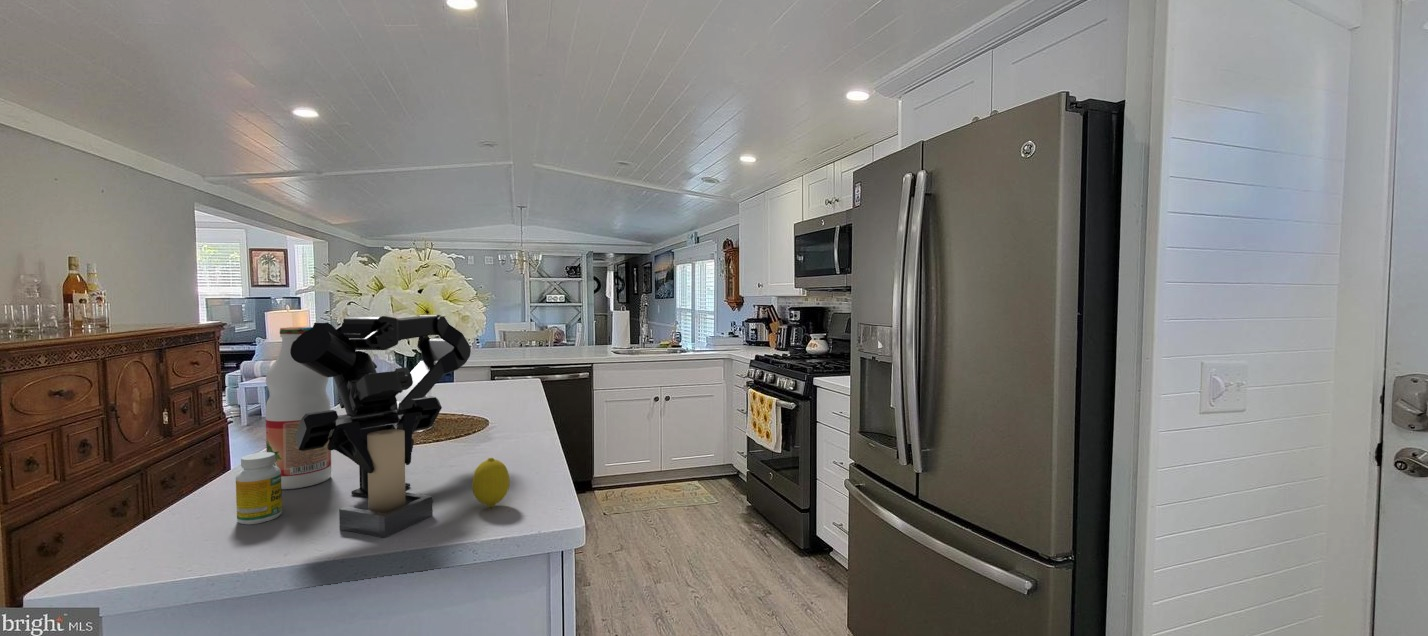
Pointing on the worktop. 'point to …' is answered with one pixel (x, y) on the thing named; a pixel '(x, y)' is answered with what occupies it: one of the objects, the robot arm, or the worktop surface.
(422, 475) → the worktop surface
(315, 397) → the fruit juice
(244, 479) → the supplement bottle
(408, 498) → the holder
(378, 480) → the paper roll
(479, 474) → the lemon
